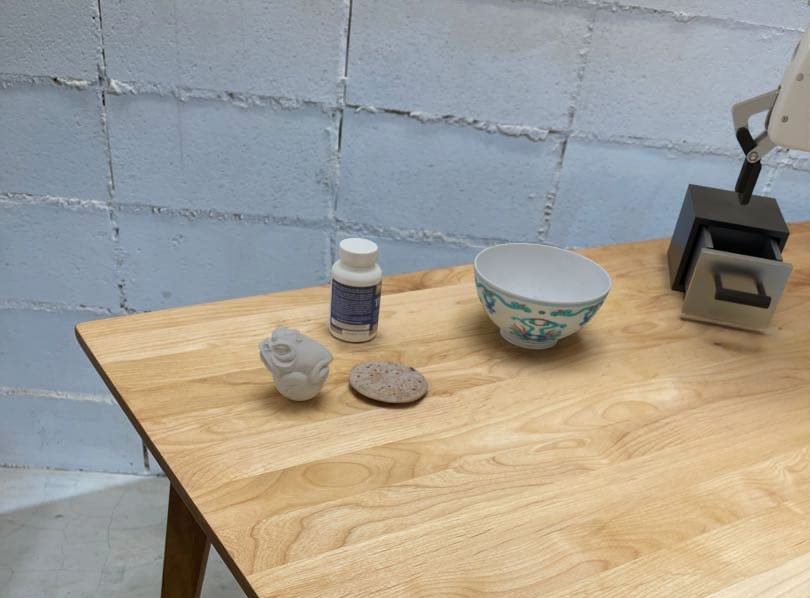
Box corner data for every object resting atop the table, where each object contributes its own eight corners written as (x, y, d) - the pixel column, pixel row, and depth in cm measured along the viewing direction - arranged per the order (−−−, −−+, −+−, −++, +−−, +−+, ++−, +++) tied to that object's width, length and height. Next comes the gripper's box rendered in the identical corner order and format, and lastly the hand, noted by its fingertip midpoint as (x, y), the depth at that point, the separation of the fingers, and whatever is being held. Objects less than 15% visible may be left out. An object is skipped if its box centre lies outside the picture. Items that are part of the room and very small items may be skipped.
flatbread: (438, 381, 86) (439, 372, 85) (408, 415, 80) (409, 406, 80) (367, 358, 88) (368, 349, 87) (333, 390, 82) (334, 381, 82)
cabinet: (760, 306, 109) (790, 233, 103) (671, 289, 110) (695, 216, 104) (748, 267, 119) (775, 198, 113) (667, 252, 120) (689, 183, 113)
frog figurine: (256, 381, 83) (255, 315, 78) (327, 379, 84) (330, 315, 79) (261, 415, 78) (260, 348, 74) (336, 413, 80) (339, 347, 75)
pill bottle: (382, 343, 91) (390, 256, 85) (333, 344, 90) (338, 256, 83) (371, 319, 95) (378, 234, 88) (324, 320, 93) (328, 234, 87)
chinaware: (610, 330, 99) (628, 267, 94) (568, 383, 89) (586, 316, 83) (494, 293, 103) (505, 231, 98) (442, 340, 93) (451, 273, 88)
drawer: (772, 347, 98) (800, 284, 93) (683, 331, 99) (706, 267, 94) (755, 288, 111) (778, 230, 106) (676, 274, 112) (696, 216, 107)
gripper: (774, 3, 72) (705, 206, 83) (982, 35, 70) (884, 237, 82) (763, -9, 77) (700, 182, 89) (956, 20, 76) (867, 211, 87)
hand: (788, 208), depth 85 cm, fingers open, 9 cm apart
